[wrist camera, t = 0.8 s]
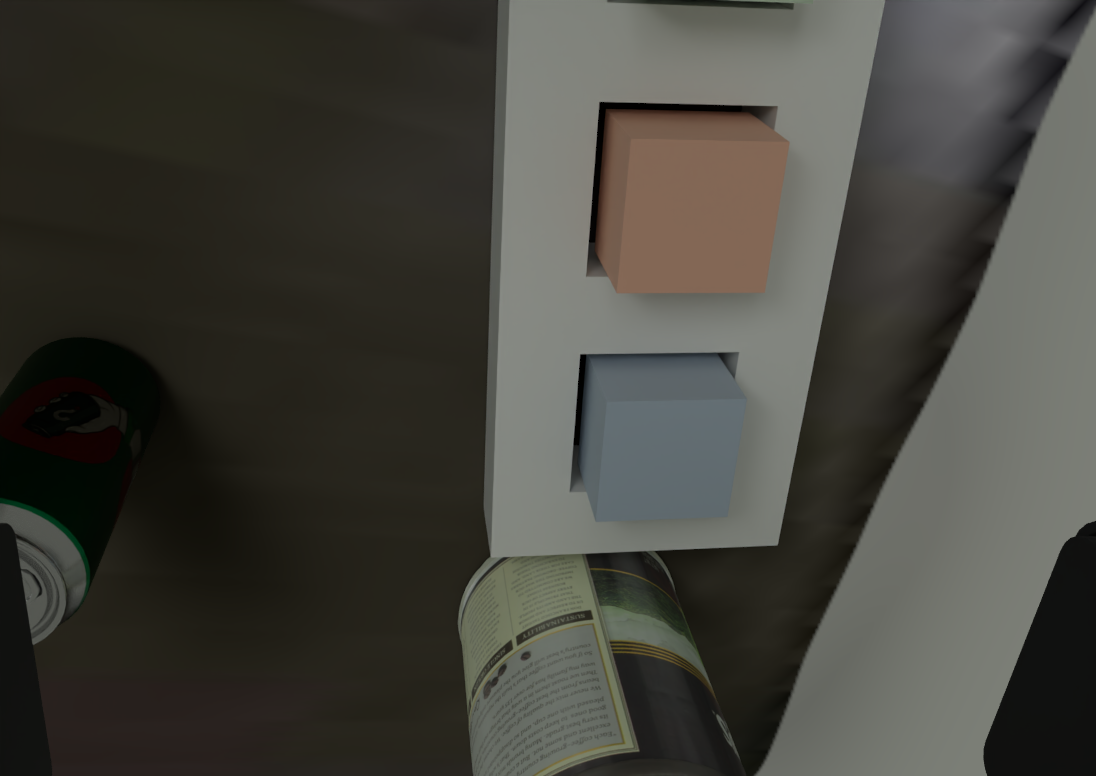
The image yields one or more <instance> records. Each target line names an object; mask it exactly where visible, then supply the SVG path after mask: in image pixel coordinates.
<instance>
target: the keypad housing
mask: <svg viewBox="0 0 1096 776" xmlns="http://www.w3.org/2000/svg"><path fill="white" fill-rule="evenodd" d="M884 4H885V0H813V4H805V3H780V2H756V1H731V0H498V24H497V58H496V93H495V128H494V163H493V198H492V233H491V268H490V302H489V337H488V372H487V407H486V442H485V477H484V514H485V521H486V527H487V534H488V541H489V548H490V555H491V558H495V557H519V556H542V555H565V554H588V553H611V552H635V551H658V550H681V549H704V548H727V547H750V546H774V545H778V541H779V536H780V531H781V526H782V520H783V515H784V510H785V505H786V500H787V495H788V490H789V485H790V480H791V475H792V470H793V465H794V460H795V455H796V450H797V445H798V439H799V434H800V429H801V424H802V419H803V414H804V409H805V404H806V399H807V394H808V389H809V384H810V379H811V374H812V369H813V364H814V358H815V353H816V348H817V343H818V338H819V333H820V328H821V323H822V318H823V313H824V308H825V303H826V298H827V293H828V288H829V283H830V277H831V272H832V267H833V262H834V257H835V252H836V247H837V242H838V237H839V232H840V227H841V222H842V217H843V212H844V207H845V202H846V196H847V191H848V186H849V181H850V176H851V171H852V166H853V161H854V156H855V151H856V146H857V141H858V136H859V131H860V126H861V121H862V115H863V110H864V105H865V100H866V95H867V90H868V85H869V80H870V75H871V70H872V65H873V60H874V55H875V50H876V45H877V40H878V34H879V29H880V24H881V19H882V14H883V9H884ZM599 102H627V103H667V104H707V105H742V110H741V112H749V113H751V114H752V115H753V116H755V117H756V118H758V119H759V120H760V121H762V122H763V123H764V124H766V125H767V126H769V127H770V128H771V129H773V130H774V131H775V132H777V133H778V134H780V135H781V136H782V137H784V138H785V139H786V140H788V141H789V142H790V144H789V150H788V156H787V162H786V168H785V174H784V180H783V186H782V192H781V198H780V204H779V210H778V216H777V222H776V228H775V234H774V240H773V246H772V252H771V258H770V264H769V270H768V276H767V282H766V288H765V293H616V291H615V289H614V287H613V285H612V283H611V281H610V279H609V277H608V275H607V273H606V271H605V270H604V268H603V266H602V264H601V262H600V260H599V258H598V256H597V254H596V252H595V243H589V232H590V219H591V206H592V193H593V180H594V167H595V154H596V140H597V127H598V114H599ZM712 352H717V354H718V355H719V357H720V358H721V360H722V361H723V363H724V364H725V366H726V368H727V369H728V371H729V372H730V374H731V375H732V377H733V378H734V380H735V381H736V383H737V384H738V386H739V387H740V389H741V390H742V392H743V393H744V395H745V397H746V398H747V402H746V408H745V414H744V420H743V427H742V433H741V439H740V445H739V451H738V457H737V463H736V469H735V475H734V481H733V487H732V493H731V499H730V505H729V511H728V517H711V518H685V519H659V520H633V521H607V522H596V521H595V518H594V515H593V512H592V508H591V505H590V502H589V499H588V495H587V492H586V489H585V486H584V482H583V479H582V476H581V473H580V470H579V466H578V453H579V445H575V446H573V442H574V429H575V416H576V403H577V390H578V376H579V363H580V354H636V353H712Z"/></svg>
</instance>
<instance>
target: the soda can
mask: <svg viewBox="0 0 1096 776" xmlns="http://www.w3.org/2000/svg"><path fill="white" fill-rule="evenodd" d="M159 413H160V396H159V391H158V388H157V385H156V382H155V381H154V379H153V377H152V375H151V373H150V372H149V371H148V370H147V368H146V367H145V366H144V365H143V364H142V363H141V362H140V361H139V360H138V359H137V358H136V357H135V356H133V355H132V354H131V353H129V352H128V351H126V350H124V349H122V348H121V347H119V346H117V345H114V344H112V343H109V342H106V341H102V340H98V339H93V338H85V337H77V338H66V339H60V340H57V341H54V342H51V343H49V344H47V345H45V346H43V347H41V348H39V349H38V350H37V351H35V352H34V353H33V354H32V355H31V356H30V357H29V358H28V359H27V360H26V361H25V363H24V364H23V365H22V367H21V368H20V370H19V371H18V373H17V374H16V375H15V377H14V378H13V380H12V381H11V382H10V384H9V385H8V387H7V388H6V389H5V391H4V392H3V394H2V395H1V396H0V523H7V524H9V525H11V527H12V528H13V530H14V533H15V537H16V541H17V547H18V554H19V560H20V566H21V573H22V579H23V586H24V592H25V598H26V605H27V611H28V617H29V624H30V630H31V637H32V643H33V645H34V644H36V643H38V642H40V641H41V640H43V639H44V638H46V637H47V636H48V635H49V634H50V633H51V632H52V631H53V630H54V629H55V628H56V627H57V626H59V625H60V624H62V623H63V622H65V621H66V620H68V619H69V618H70V617H71V616H72V615H73V614H74V613H75V612H77V610H78V609H79V607H80V606H81V605H82V603H83V602H84V600H85V597H86V595H87V593H88V591H89V588H90V586H91V583H92V581H93V578H94V576H95V574H96V571H97V569H98V566H99V564H100V561H101V559H102V556H103V554H104V551H105V549H106V546H107V544H108V541H109V539H110V536H111V534H112V532H113V529H114V527H115V524H116V522H117V519H118V517H119V514H120V512H121V509H122V507H123V504H124V502H125V499H126V497H127V494H128V492H129V490H130V487H131V485H132V482H133V480H134V477H135V475H136V472H137V470H138V467H139V465H140V462H141V460H142V457H143V455H144V452H145V450H146V448H147V445H148V443H149V440H150V438H151V435H152V433H153V430H154V428H155V425H156V423H157V420H158V417H159Z"/></svg>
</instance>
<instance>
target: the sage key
mask: <svg viewBox="0 0 1096 776" xmlns="http://www.w3.org/2000/svg"><path fill="white" fill-rule="evenodd" d="M731 1H756V2H780V3H805V4H813V0H731Z"/></svg>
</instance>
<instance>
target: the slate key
mask: <svg viewBox="0 0 1096 776" xmlns="http://www.w3.org/2000/svg"><path fill="white" fill-rule="evenodd" d="M746 402H747V398H746V397H745V395H744V393H743V392H742V390H741V389H740V387H739V386H738V384H737V383H736V381H735V380H734V378H733V377H732V375H731V374H730V372H729V371H728V369H727V368H726V366H725V364H724V363H723V361H722V360H721V358H720V357H719V355H718V354H717V352H712V353H636V354H586V364H585V377H584V390H583V402H582V415H581V427H580V440H579V453H578V466H579V470H580V473H581V476H582V479H583V482H584V486H585V489H586V492H587V495H588V499H589V502H590V505H591V508H592V512H593V515H594V518H595V521H596V522H607V521H633V520H659V519H685V518H711V517H728V511H729V505H730V499H731V493H732V487H733V481H734V475H735V469H736V463H737V457H738V451H739V445H740V439H741V433H742V427H743V420H744V414H745V408H746Z"/></svg>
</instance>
